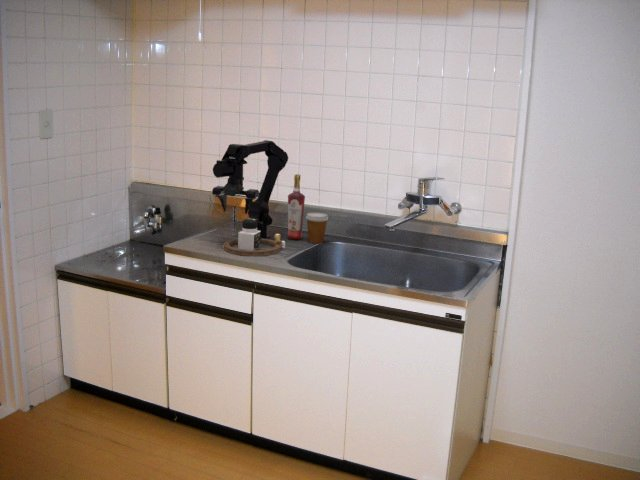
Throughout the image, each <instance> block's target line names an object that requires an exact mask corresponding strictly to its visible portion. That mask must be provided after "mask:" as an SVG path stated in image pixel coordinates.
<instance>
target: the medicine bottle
mask: <svg viewBox="0 0 640 480" xmlns="http://www.w3.org/2000/svg"><path fill="white" fill-rule="evenodd" d="M241 223H242V225H241V229H242V230H240V231H238V232H237V233H238V235H237V238H238V243H237V249H240V250H250V251H257V250H258V249H259V248H261V243H260V241H261V231H259V230H257V221H256V220H255V219H249V218H244V219H243V220H242V221H241Z"/></svg>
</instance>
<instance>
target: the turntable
mask: <svg viewBox="0 0 640 480" xmlns="http://www.w3.org/2000/svg"><path fill="white" fill-rule="evenodd" d="M281 235H282V234H281V233H275V234H274V239H269V238H266V239H264V238H261V241H260V244H265V245H269V246H272V248H268V249H262V250H261V249H260V250H255V251H250V250H241V249H238V248H235V247H232V246H233V245H238V237H237V238H231V239H228V240H226V241H225V242H224V243H223V244H222V245H223V247H222V248H223V249H224V251H225V252H227V253H230V254H233V255H239V256H246V257H247V256H248V257H262V256H264V257H265V256H270V255H276V254H277V253H280V252H281V249H282V247H281Z"/></svg>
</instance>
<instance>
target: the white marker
mask: <svg viewBox="0 0 640 480" xmlns="http://www.w3.org/2000/svg"><path fill="white" fill-rule="evenodd" d="M280 244H281V249H286V241H285V240H280Z"/></svg>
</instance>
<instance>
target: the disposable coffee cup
mask: <svg viewBox="0 0 640 480" xmlns="http://www.w3.org/2000/svg"><path fill="white" fill-rule="evenodd" d="M305 219H306V223H307V224H306V225H307V235H308V242H309V243H310V244H314V245H315V244H316V245H317V244H323V243H324V239H325V234H326V228H327V223H328V221H329V220H328V219H329V217H328V214H327V213H323V212H315V211H314V212H308V213H306V216H305Z"/></svg>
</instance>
